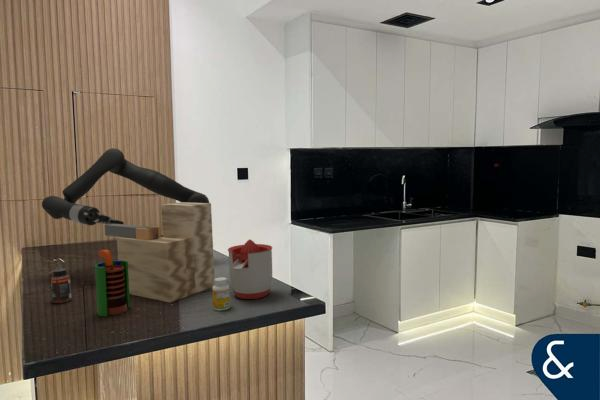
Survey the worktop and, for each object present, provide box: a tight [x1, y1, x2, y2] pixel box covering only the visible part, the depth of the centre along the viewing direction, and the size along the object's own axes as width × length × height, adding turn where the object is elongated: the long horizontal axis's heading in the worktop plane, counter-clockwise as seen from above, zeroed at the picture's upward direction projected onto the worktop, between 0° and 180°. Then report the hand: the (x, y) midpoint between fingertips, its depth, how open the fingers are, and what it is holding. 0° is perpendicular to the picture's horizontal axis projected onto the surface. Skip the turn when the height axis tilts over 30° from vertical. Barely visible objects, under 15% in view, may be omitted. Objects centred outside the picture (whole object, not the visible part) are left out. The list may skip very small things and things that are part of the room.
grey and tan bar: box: [103, 224, 162, 240], centre depth 166 cm, size 6×26×4 cm, turn 58°
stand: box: [116, 201, 215, 303], centre depth 167 cm, size 22×27×32 cm
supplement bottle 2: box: [211, 276, 231, 312], centre depth 144 cm, size 5×5×10 cm
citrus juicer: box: [227, 239, 273, 300], centre depth 156 cm, size 16×17×20 cm
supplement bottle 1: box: [50, 268, 72, 304], centre depth 157 cm, size 6×6×11 cm
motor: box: [94, 249, 131, 318], centre depth 144 cm, size 10×9×20 cm
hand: (115, 222), depth 177 cm, fingers open, 8 cm apart
